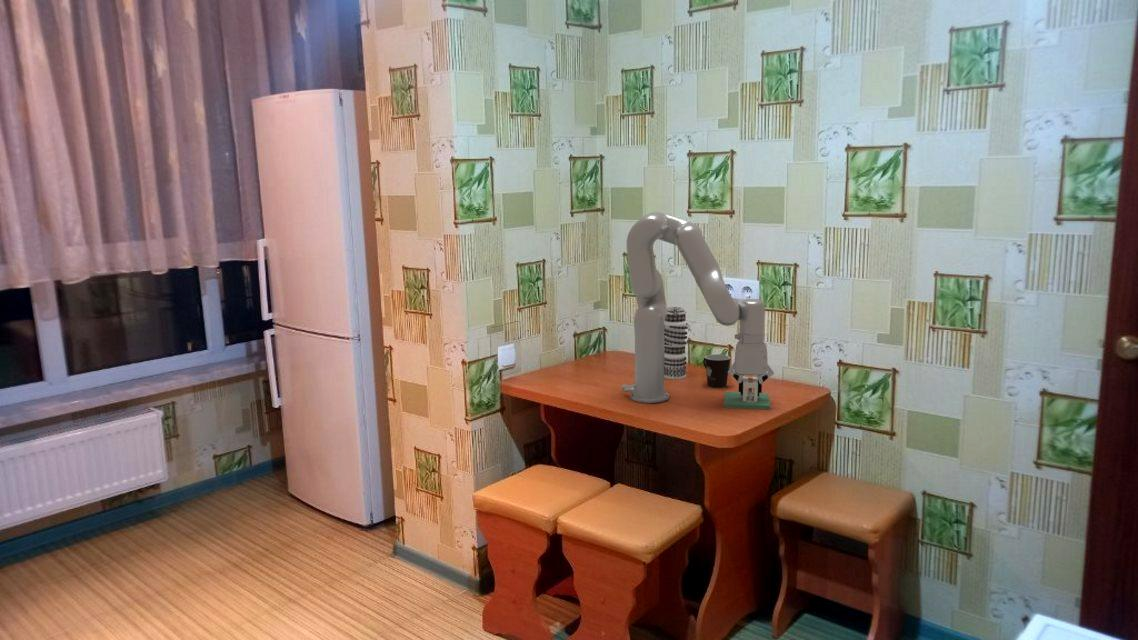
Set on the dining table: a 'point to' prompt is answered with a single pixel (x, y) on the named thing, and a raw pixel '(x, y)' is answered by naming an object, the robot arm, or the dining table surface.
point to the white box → (750, 383)
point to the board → (737, 400)
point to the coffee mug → (717, 370)
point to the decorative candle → (675, 343)
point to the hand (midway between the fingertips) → (749, 394)
